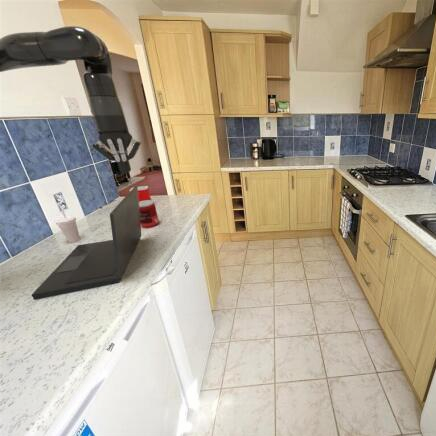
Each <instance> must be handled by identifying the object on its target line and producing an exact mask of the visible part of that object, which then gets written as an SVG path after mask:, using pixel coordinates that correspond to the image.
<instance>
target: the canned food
mask: <svg viewBox="0 0 436 436" xmlns="http://www.w3.org/2000/svg"><path fill="white" fill-rule="evenodd" d="M139 212H140V224H141V228H143V229H150V228H151V229H152V228H154V227H157V226H159V224H160V219H159V215H158V212H157V207H156V204H155V201H154V200H153V199H151V200H145V201H140V202H139Z"/></svg>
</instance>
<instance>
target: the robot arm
mask: <svg viewBox="0 0 436 436" xmlns="http://www.w3.org/2000/svg"><path fill="white" fill-rule="evenodd" d="M71 61H82V63H83V67H84V73H83V74H82V82H83V85H84V88H85V91H86V95H87V98H88V104H89V107H90V112H91V114H92V117H93V120H94V123H95V125H96V129H97V132H98V140H97V142H95V143H93V144H92V148H93V149H95V150H96V151H97V152H98V153H100V154H101V155H102V156H103V157H105V158H106V159H108V161H113V162H116V163H117V167H118V169H119V172H120V173H122V174H125V175H126V174H129V173H130V172H131V171H132V168H131V164H130V160H132V159H134V158H135V157H136V155H137V153H138V151H139V149H140V147H142V142H141V141H140V140H136V139H135V138H133V136H132V134H131V133H130V131H129V128H128V124H127V120H126V116H125V112H124V109H123V106H122V103H121V101H120V98H119V95H118V91H117V88H116V87H117V86H116V84H115V82H114V77H113V76H114V75H113V66H112V58H111V55H110V51H109V48H108V47H107V45H106V43H105V42H104V40H103V39H102V38H101V37H99V36H98V35H97V34H95V33H93V32H92V31H91V30H90V29H87V28H85V27H82V26H73V25H72V26H70V25H69V26H63V27H59V28H54V29H50V30H48V31H26V32H25V31H23V32H14V33H10V34H7V35H4V36H2V37H1V38H0V73H3V72H7V71H13V70H18V69H19V70H20V69H26V68H27V69H28V68H37V67H51V66H61V65H65V64H67V63H68V62H71ZM130 144H131V145H130ZM130 146H132V148H131V150H130V152H129V151H128V148H129V147H130ZM105 147H106V148H105ZM107 149H108V150H107ZM109 150H110V151H111V152H110V151H109ZM128 152H129V153H128Z"/></svg>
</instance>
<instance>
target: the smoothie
mask: <svg viewBox="0 0 436 436" xmlns="http://www.w3.org/2000/svg"><path fill="white" fill-rule="evenodd" d="M60 211H61V213H62V215H63V217H60V218H58V219H56V220H55V221H54V224H55V225H57V227H58V228H59V229H60V231H61V232H62V234H63V235H64V237H65V239H67V241H68V243H75V242H78V241H80V240H81V237H80V232H79V228H78V225H77V224H78V223H77V221H76V220H77V218H76V216H74V215H73V216H72V215H70V216H66V213H65V211H64V209H63V208H61V209H60Z"/></svg>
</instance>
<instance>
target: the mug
mask: <svg viewBox="0 0 436 436" xmlns="http://www.w3.org/2000/svg"><path fill="white" fill-rule="evenodd" d="M133 188H134V187H131V188H130V189H129V192H130V191H131V190H132V189H133ZM137 188H138V200H139V202H140V201H145V200H152V198H151V193H150V190H149V186H148V185H142V186H137Z"/></svg>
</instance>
